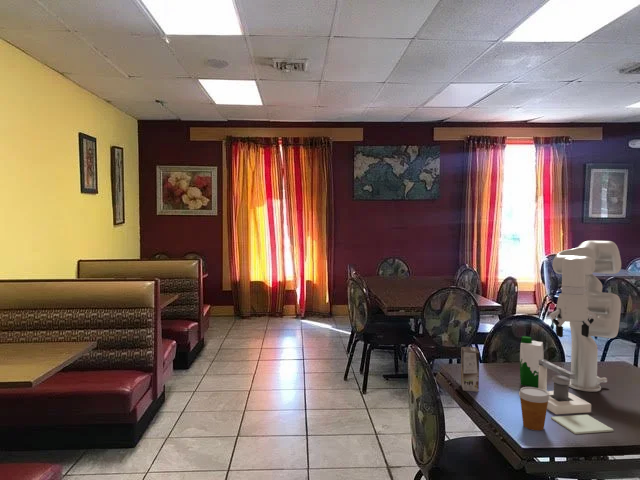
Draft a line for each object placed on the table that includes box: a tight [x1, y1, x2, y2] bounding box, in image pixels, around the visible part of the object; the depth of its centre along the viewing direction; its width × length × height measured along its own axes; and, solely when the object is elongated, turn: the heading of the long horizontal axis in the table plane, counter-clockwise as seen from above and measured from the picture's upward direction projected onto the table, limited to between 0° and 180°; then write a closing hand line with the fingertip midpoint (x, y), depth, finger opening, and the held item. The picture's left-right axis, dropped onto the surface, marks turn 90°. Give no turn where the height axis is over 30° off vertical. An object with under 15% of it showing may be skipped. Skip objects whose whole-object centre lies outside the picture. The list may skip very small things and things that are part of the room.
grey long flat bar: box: [539, 359, 575, 379], centre depth 175 cm, size 19×3×2 cm, turn 9°
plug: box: [552, 375, 570, 402], centre depth 173 cm, size 6×6×10 cm
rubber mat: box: [550, 414, 614, 435], centre depth 156 cm, size 14×12×1 cm
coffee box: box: [460, 346, 480, 392], centre depth 191 cm, size 9×6×16 cm
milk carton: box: [519, 335, 545, 388], centre depth 196 cm, size 9×9×20 cm
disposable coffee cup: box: [518, 386, 550, 432], centre depth 155 cm, size 10×10×12 cm
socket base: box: [538, 365, 592, 415], centre depth 176 cm, size 14×20×12 cm
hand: (572, 336), depth 171 cm, fingers open, 9 cm apart
